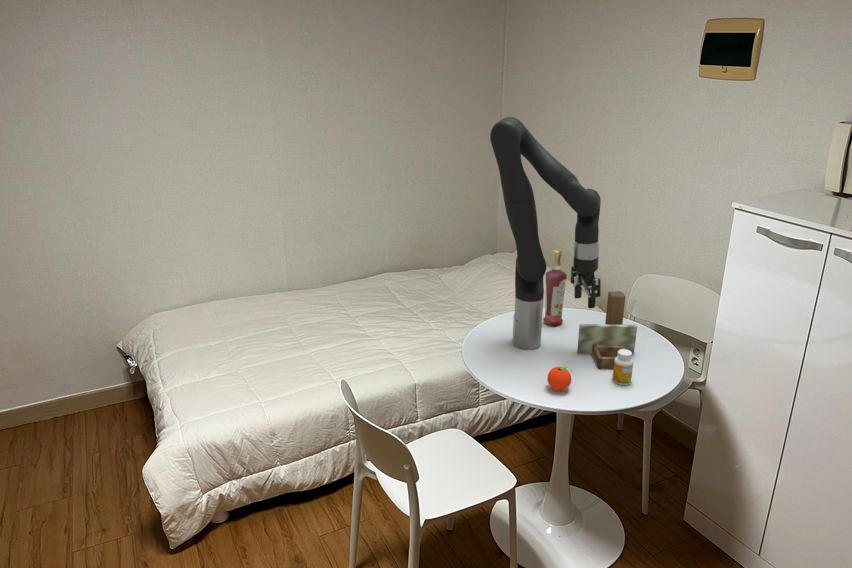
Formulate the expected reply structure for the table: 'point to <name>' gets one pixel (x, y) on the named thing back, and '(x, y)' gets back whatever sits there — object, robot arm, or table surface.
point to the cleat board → (605, 342)
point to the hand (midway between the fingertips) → (584, 302)
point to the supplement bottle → (623, 367)
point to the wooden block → (615, 308)
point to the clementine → (559, 378)
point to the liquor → (555, 291)
